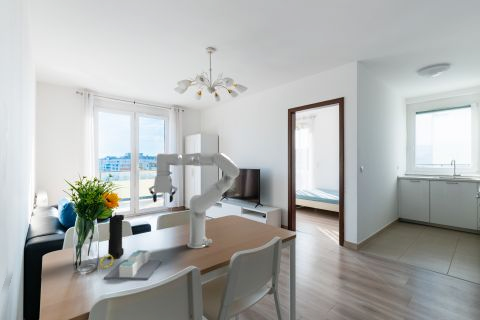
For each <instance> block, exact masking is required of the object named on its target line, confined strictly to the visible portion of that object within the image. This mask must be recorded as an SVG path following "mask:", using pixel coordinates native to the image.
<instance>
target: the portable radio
mask: <svg viewBox="0 0 480 320" xmlns="http://www.w3.org/2000/svg"><path fill="white" fill-rule="evenodd" d="M114 214H115V215H112V216H110V217H109V219H108V220H109V221H108V223H109V224H108V225H109V227H108V231H109V232H108V233H109V239H108V244H107V245H108V246H107V254H110V255H111V256H112V257H113V258H114V260H117V259H118V260H119V259H120V258H121V257H122V256H124V254H125V252H124V251H125V249H124V248H123V220H125V215H124V214H117V212H114ZM111 256H109V257H107V259H108V260H112V257H111Z"/></svg>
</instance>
